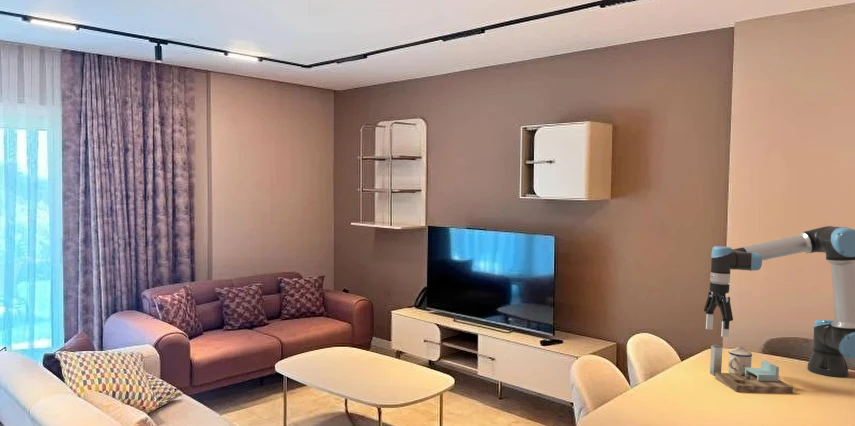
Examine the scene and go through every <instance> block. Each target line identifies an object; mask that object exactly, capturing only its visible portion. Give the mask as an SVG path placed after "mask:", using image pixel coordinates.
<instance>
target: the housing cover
mask: <svg viewBox="0 0 855 426" xmlns="http://www.w3.org/2000/svg"><path fill="white" fill-rule="evenodd" d="M779 373H780V367H779V366H777V365H775V364H773V363H771V362H769V361H767V360H763V359H762V360H761V367H751V368H747V367H745V374H755V375H756V376H757V380H758V381H778V380H779V376H780V375H779Z"/></svg>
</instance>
